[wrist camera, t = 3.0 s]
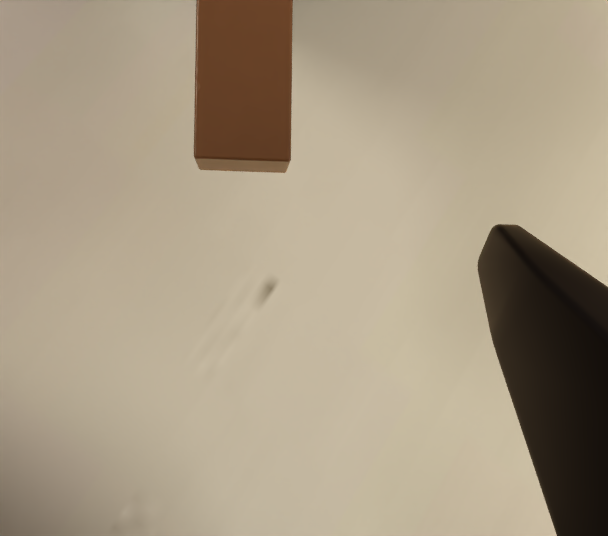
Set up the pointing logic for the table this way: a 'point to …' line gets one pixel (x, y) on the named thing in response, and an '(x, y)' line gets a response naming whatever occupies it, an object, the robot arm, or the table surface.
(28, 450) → the table surface
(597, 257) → the table surface
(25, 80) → the table surface
